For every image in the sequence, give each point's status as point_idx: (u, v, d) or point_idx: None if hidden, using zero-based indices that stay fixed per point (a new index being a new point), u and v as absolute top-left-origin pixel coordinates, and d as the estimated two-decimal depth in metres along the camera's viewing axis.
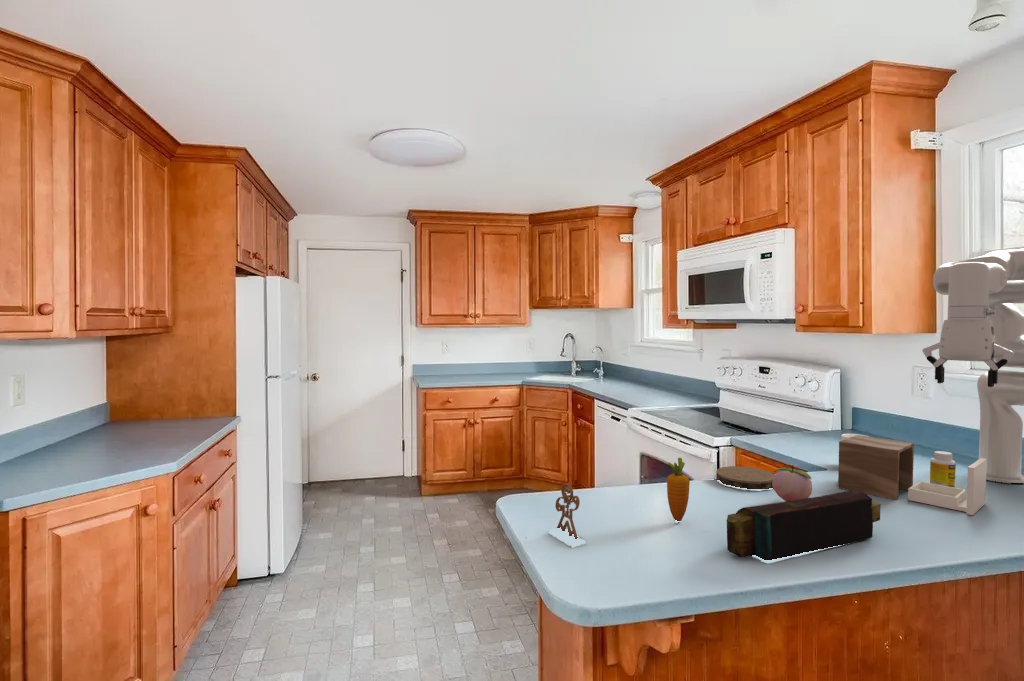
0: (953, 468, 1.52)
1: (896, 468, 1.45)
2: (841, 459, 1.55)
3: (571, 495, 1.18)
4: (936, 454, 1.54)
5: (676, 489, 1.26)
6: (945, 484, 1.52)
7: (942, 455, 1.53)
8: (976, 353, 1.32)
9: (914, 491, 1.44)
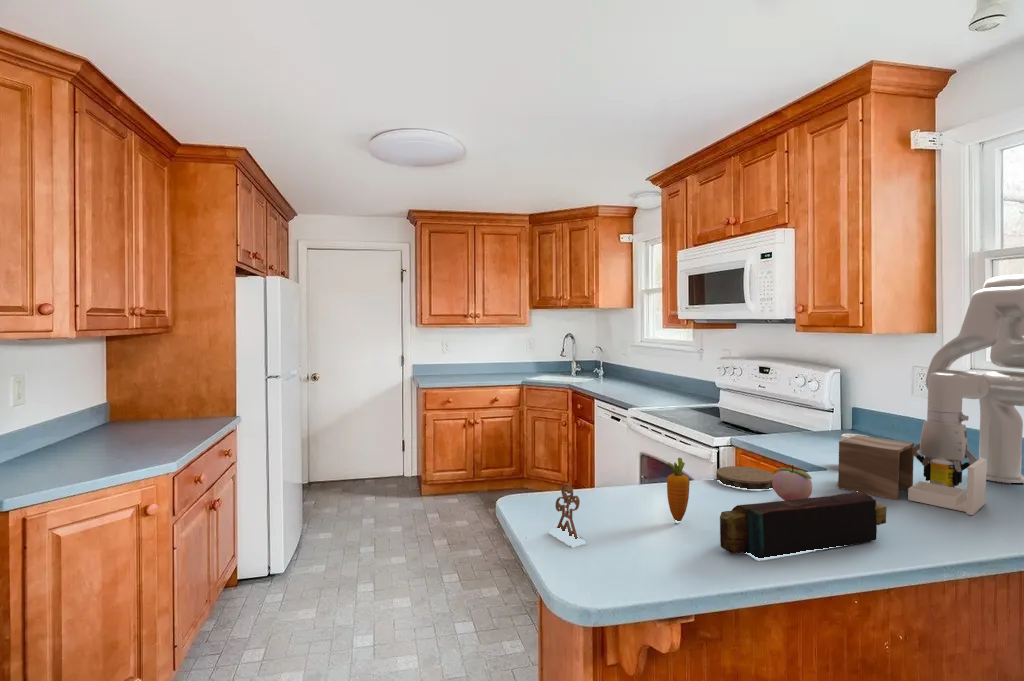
0: (953, 468, 1.52)
1: (896, 468, 1.45)
2: (841, 459, 1.55)
3: (571, 495, 1.18)
4: None
5: (676, 489, 1.26)
6: (945, 484, 1.52)
7: None
8: (951, 453, 1.51)
9: (914, 491, 1.44)
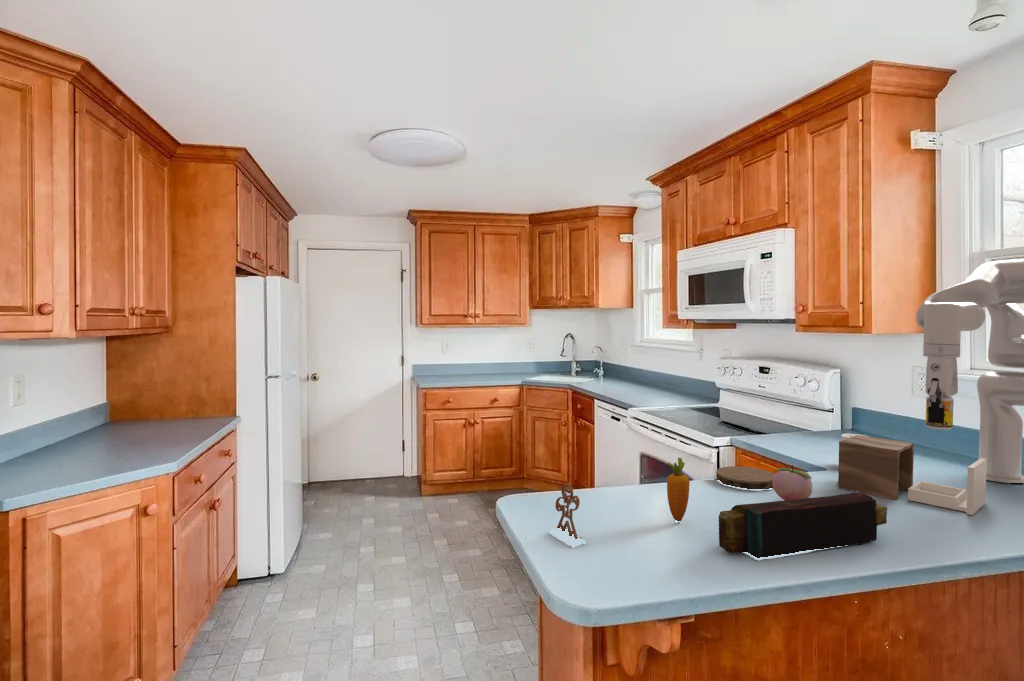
0: None
1: (896, 468, 1.45)
2: (841, 459, 1.55)
3: (571, 495, 1.18)
4: None
5: (676, 489, 1.26)
6: (926, 419, 1.45)
7: None
8: None
9: (914, 491, 1.44)
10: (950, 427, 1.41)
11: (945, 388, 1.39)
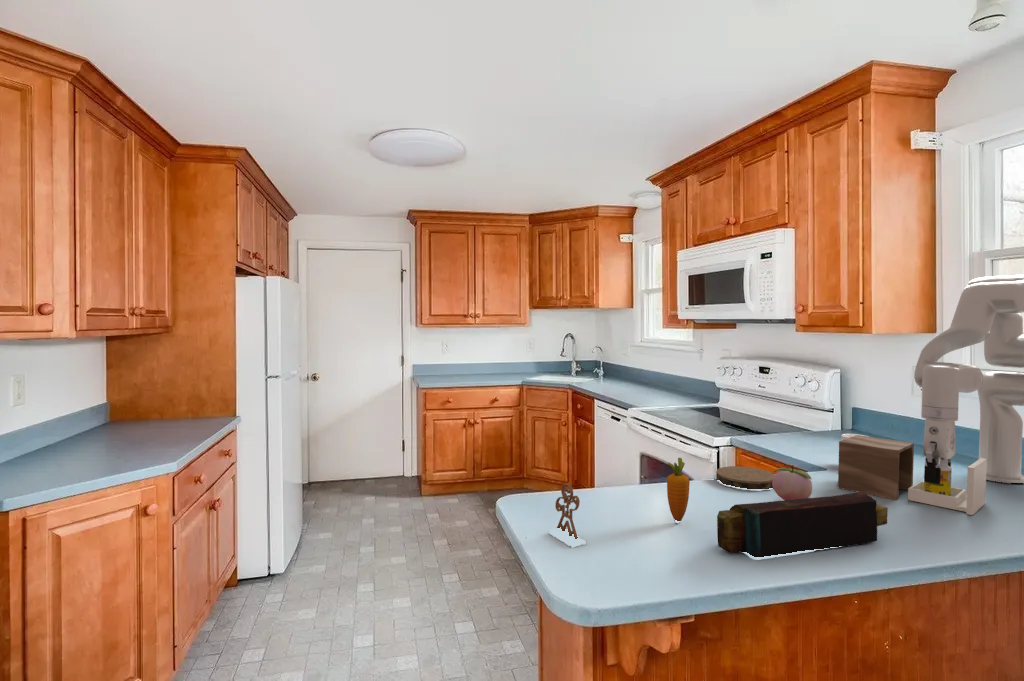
0: None
1: (896, 468, 1.45)
2: (841, 459, 1.55)
3: (571, 495, 1.18)
4: None
5: (676, 489, 1.26)
6: (924, 487, 1.45)
7: None
8: None
9: (914, 491, 1.44)
10: None
11: (943, 452, 1.39)
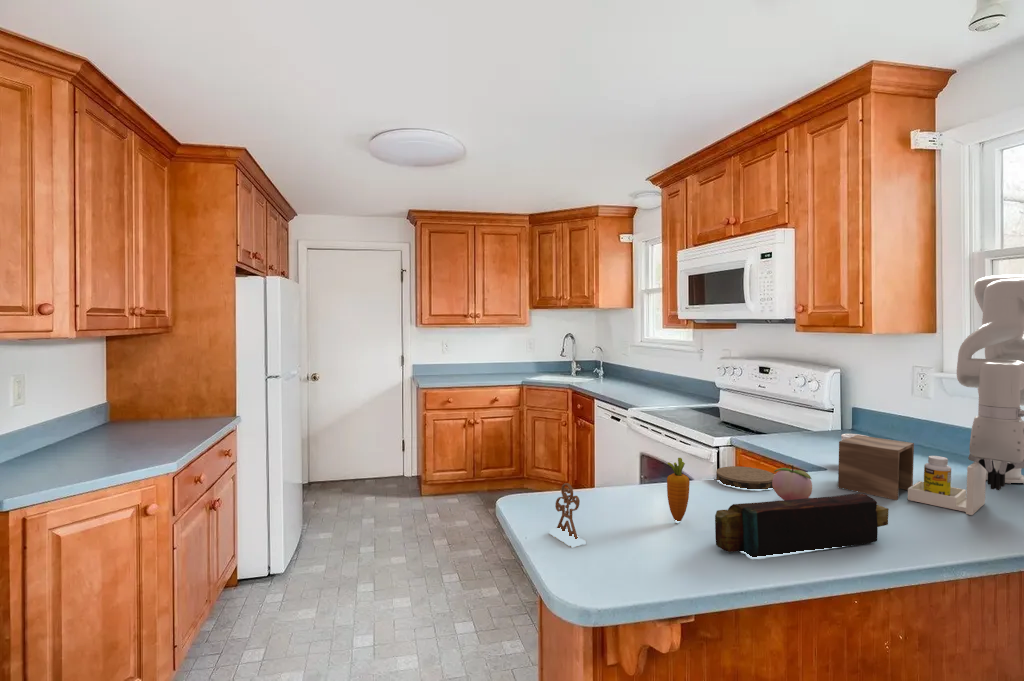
0: (929, 472, 1.43)
1: (896, 468, 1.45)
2: (841, 459, 1.55)
3: (571, 495, 1.18)
4: None
5: (676, 489, 1.26)
6: None
7: (928, 457, 1.45)
8: (1008, 454, 1.32)
9: (914, 491, 1.44)
10: None
11: None
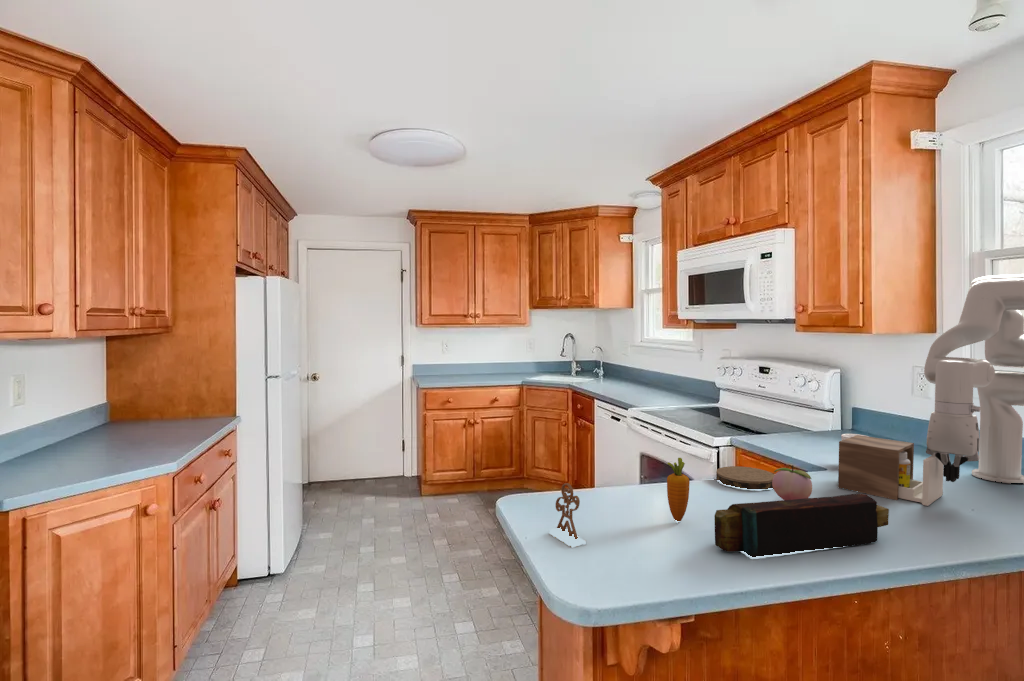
0: None
1: (896, 468, 1.45)
2: (841, 459, 1.55)
3: (571, 495, 1.18)
4: None
5: (676, 489, 1.26)
6: None
7: None
8: (961, 448, 1.39)
9: None
10: None
11: (979, 446, 1.39)
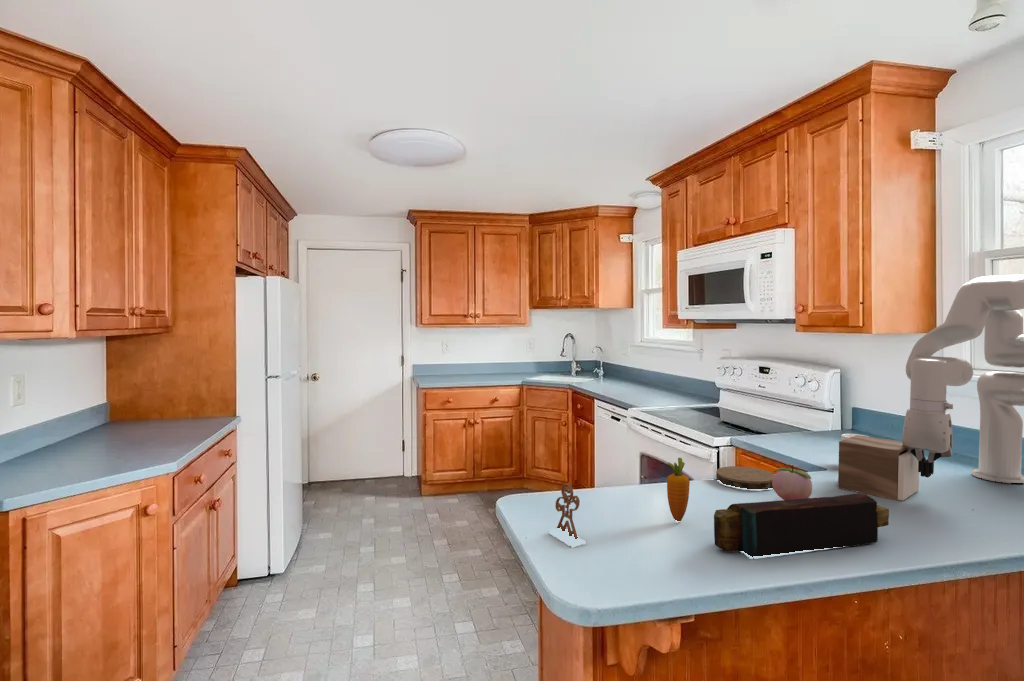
0: None
1: (896, 468, 1.45)
2: (841, 459, 1.55)
3: (571, 495, 1.18)
4: None
5: (676, 489, 1.26)
6: None
7: None
8: (935, 444, 1.43)
9: None
10: None
11: None
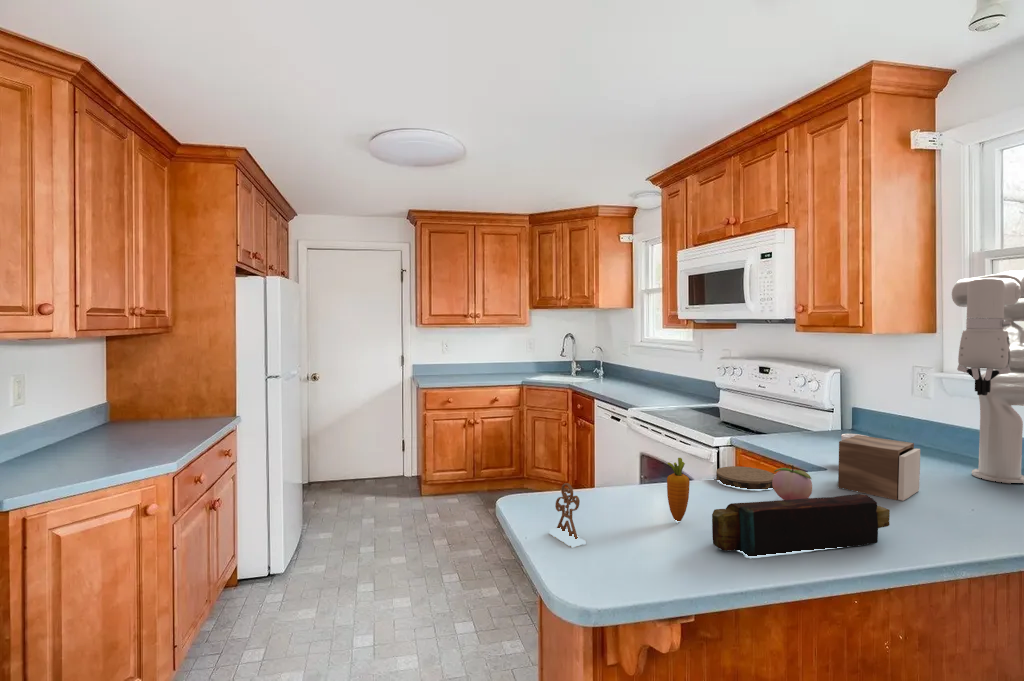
0: None
1: (896, 468, 1.45)
2: (841, 459, 1.55)
3: (571, 495, 1.18)
4: None
5: (676, 489, 1.26)
6: None
7: None
8: (993, 361, 1.44)
9: None
10: None
11: (1009, 360, 1.45)
